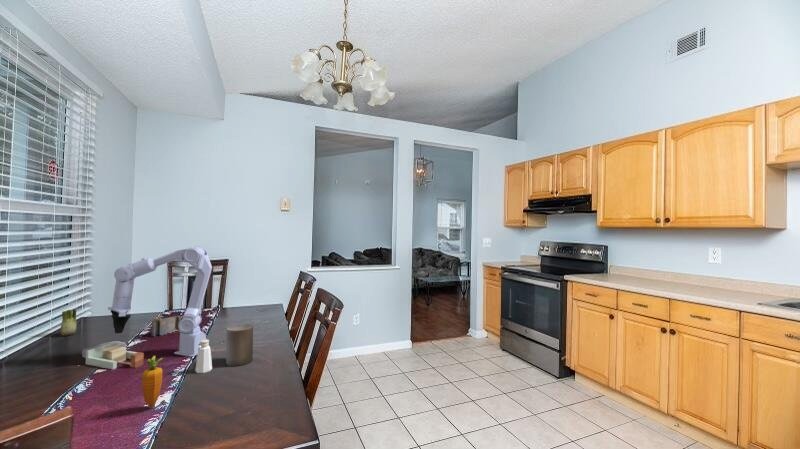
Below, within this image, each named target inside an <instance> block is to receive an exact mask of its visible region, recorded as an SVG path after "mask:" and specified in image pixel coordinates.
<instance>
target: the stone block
mask: <svg viewBox="0 0 800 449" xmlns="http://www.w3.org/2000/svg"><path fill="white" fill-rule="evenodd" d="M115 342H116V343H117V346H121V347H126V348H127V344H126V342H122V341H120V340H113V341H107V342H103V343H101V344H100V343H99V344H98V345H95V346H92V347H91V346H90V347H87V348H83V349H82V352H81V357H82V358H84V359H86V351H87V350H91V349H94V348H98V347H101V346H104V345H108V344H111V343H115Z"/></svg>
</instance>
